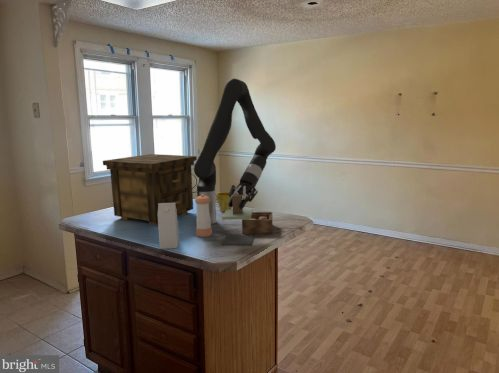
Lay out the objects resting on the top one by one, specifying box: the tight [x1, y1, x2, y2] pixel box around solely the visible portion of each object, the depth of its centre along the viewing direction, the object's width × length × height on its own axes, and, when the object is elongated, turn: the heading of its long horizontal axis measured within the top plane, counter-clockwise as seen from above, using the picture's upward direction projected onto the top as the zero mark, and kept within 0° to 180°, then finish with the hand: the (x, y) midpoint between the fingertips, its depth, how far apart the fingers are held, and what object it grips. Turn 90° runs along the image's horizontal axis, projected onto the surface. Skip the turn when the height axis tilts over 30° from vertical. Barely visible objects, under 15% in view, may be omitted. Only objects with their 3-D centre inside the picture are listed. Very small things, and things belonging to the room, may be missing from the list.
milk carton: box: [157, 203, 179, 250], centre depth 157 cm, size 7×7×19 cm
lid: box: [221, 193, 253, 220], centre depth 161 cm, size 12×12×9 cm
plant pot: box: [215, 191, 233, 212], centre depth 216 cm, size 10×10×10 cm
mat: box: [221, 234, 255, 246], centre depth 164 cm, size 13×13×1 cm
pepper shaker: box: [194, 194, 213, 238], centre depth 171 cm, size 7×7×19 cm
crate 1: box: [102, 153, 198, 226], centre depth 203 cm, size 35×35×33 cm
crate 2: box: [241, 211, 274, 235], centre depth 179 cm, size 14×14×7 cm
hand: (234, 207), depth 160 cm, fingers closed on lid, 5 cm apart
